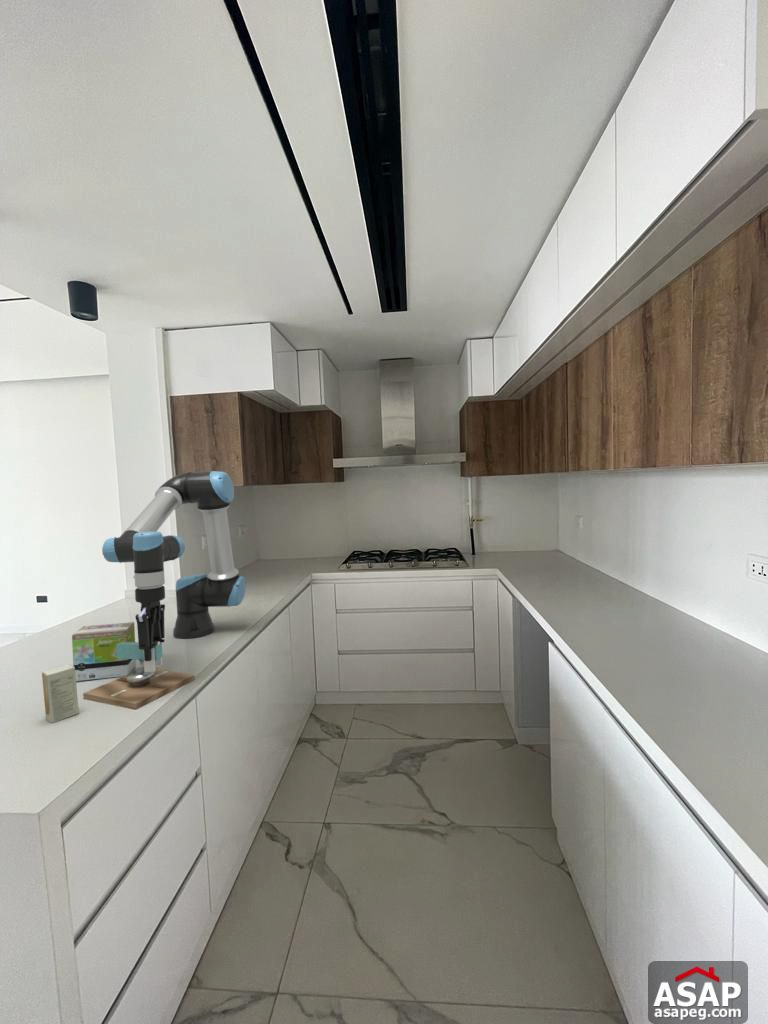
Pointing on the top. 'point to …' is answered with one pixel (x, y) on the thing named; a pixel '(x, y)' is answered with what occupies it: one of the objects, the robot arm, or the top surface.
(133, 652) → the teal lever handle
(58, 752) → the top surface
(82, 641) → the tea box
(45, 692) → the skincare box
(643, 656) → the top surface
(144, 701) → the post base
